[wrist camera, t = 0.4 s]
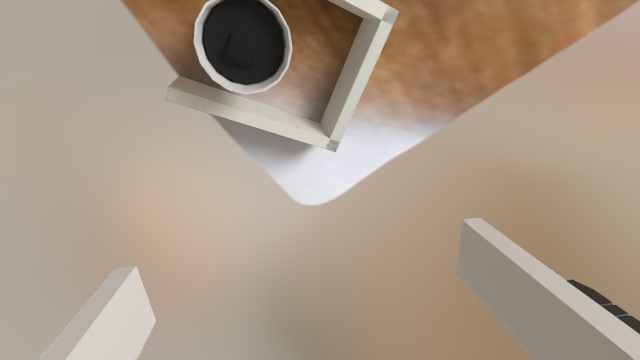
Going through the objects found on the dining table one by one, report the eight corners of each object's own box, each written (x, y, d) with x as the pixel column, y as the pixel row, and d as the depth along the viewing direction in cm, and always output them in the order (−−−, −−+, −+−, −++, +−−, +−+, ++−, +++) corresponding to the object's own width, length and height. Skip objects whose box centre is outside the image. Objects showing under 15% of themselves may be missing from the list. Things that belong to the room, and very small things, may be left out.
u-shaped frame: (209, -78, 24) (201, -97, 20) (378, 11, 30) (399, 11, 26) (177, 87, 30) (166, 100, 26) (325, 135, 36) (335, 152, 32)
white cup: (265, 81, 32) (271, 108, 23) (201, 52, 29) (181, 70, 21) (290, 18, 29) (307, 21, 21) (223, -20, 27) (210, -34, 18)
